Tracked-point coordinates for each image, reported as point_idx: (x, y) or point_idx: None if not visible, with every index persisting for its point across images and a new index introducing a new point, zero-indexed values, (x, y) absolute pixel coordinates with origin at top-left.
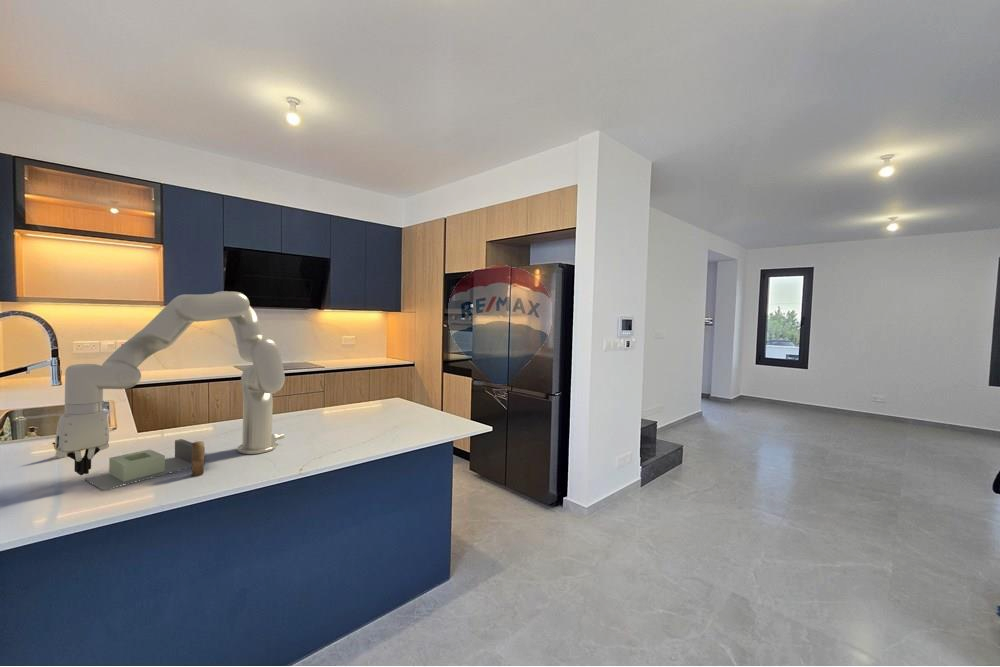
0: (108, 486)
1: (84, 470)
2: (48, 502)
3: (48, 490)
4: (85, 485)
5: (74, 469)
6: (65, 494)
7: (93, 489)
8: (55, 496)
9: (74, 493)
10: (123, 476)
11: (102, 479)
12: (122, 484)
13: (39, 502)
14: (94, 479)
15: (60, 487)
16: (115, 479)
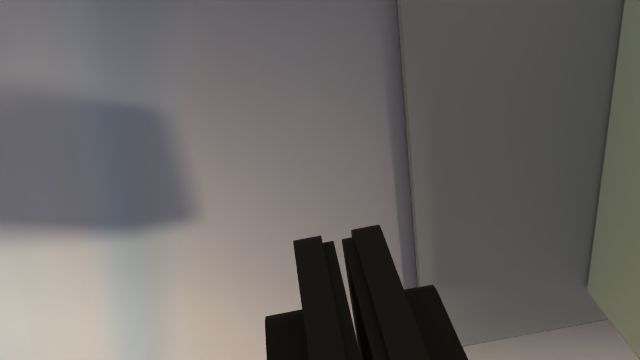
0: (472, 317)
1: (363, 358)
2: (84, 354)
3: (35, 26)
4: (354, 118)
5: (265, 325)
6: (189, 257)
7: None
8: (119, 257)
9: (251, 276)
10: (616, 324)
11: (511, 86)
12: (556, 327)
13: (20, 319)
14: (458, 26)
15: (144, 3)
16: (582, 172)
